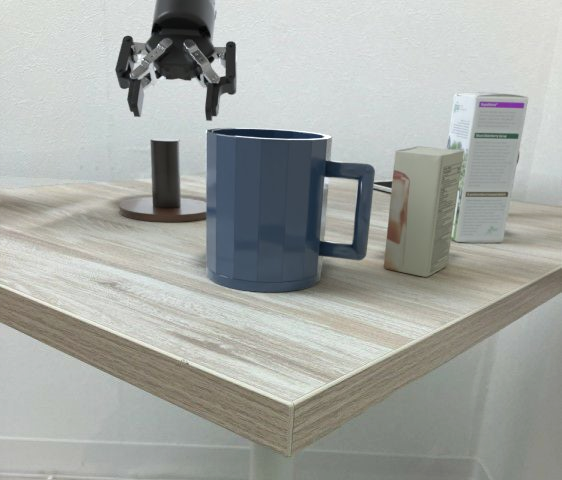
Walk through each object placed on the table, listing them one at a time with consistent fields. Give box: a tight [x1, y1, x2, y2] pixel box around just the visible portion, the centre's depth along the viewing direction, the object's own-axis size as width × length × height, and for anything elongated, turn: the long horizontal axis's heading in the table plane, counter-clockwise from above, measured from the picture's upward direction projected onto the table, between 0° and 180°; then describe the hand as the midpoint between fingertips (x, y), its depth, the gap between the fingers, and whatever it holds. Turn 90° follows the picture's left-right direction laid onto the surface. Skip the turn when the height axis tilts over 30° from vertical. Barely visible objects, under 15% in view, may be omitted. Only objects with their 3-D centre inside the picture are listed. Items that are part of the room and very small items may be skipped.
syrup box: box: [446, 91, 529, 244], centre depth 68 cm, size 6×6×14 cm
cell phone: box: [373, 178, 393, 194], centre depth 97 cm, size 8×16×1 cm, turn 31°
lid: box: [118, 137, 206, 223], centre depth 73 cm, size 11×11×8 cm
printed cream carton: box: [383, 146, 464, 278], centre depth 55 cm, size 5×4×10 cm
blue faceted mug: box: [205, 127, 376, 293], centre depth 50 cm, size 13×9×11 cm
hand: (172, 113), depth 76 cm, fingers open, 8 cm apart
